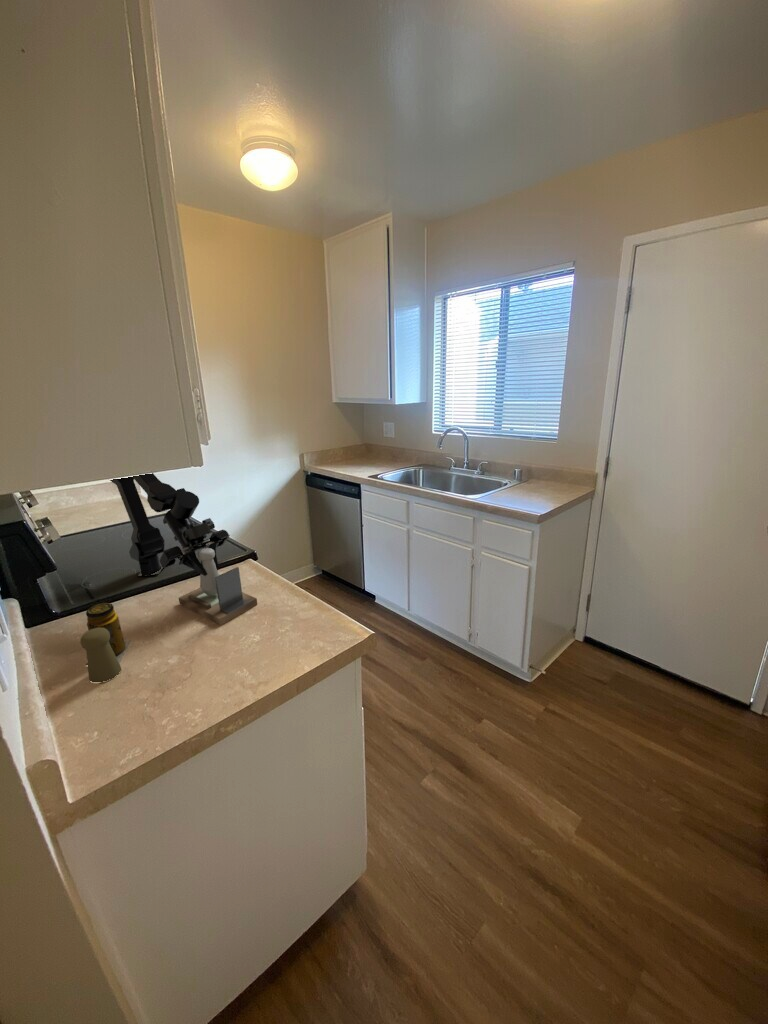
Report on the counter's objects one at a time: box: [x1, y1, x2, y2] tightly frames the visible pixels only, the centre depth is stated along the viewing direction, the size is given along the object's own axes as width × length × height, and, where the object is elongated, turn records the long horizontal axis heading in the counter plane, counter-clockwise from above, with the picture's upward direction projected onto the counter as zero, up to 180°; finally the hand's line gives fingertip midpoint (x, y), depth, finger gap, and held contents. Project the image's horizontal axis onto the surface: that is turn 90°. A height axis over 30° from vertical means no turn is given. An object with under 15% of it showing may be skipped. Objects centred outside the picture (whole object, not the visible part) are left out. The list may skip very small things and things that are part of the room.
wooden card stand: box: [178, 587, 258, 626], centre depth 117 cm, size 19×12×3 cm, turn 56°
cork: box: [79, 628, 122, 682], centre depth 89 cm, size 6×6×11 cm
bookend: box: [215, 566, 250, 614], centre depth 111 cm, size 3×7×10 cm, turn 146°
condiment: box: [85, 602, 132, 665], centre depth 95 cm, size 7×8×12 cm
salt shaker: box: [197, 548, 220, 595], centre depth 115 cm, size 6×6×13 cm
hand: (212, 572), depth 114 cm, fingers closed on salt shaker, 3 cm apart
